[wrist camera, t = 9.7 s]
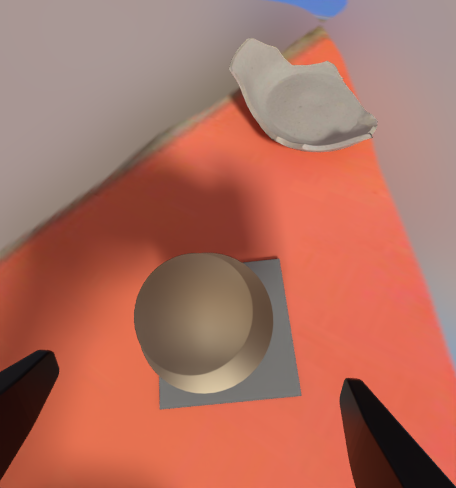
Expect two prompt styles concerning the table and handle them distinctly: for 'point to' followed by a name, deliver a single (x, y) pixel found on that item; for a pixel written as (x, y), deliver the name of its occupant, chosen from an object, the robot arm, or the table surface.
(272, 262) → the mat
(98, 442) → the table surface
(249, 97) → the pottery shard
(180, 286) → the skittle
